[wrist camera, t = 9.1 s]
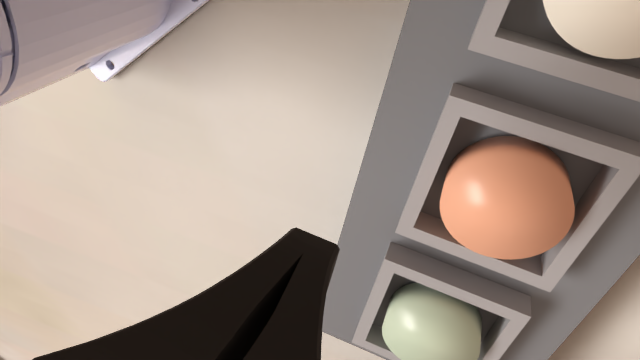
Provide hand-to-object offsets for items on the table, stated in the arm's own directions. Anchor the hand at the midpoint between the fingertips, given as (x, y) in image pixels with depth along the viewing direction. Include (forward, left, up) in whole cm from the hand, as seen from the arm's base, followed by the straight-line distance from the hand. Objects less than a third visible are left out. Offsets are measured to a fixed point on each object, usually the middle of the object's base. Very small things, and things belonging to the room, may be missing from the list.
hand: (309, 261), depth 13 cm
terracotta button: (+4, -4, -7) cm, 9 cm away
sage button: (-2, -9, -7) cm, 12 cm away
